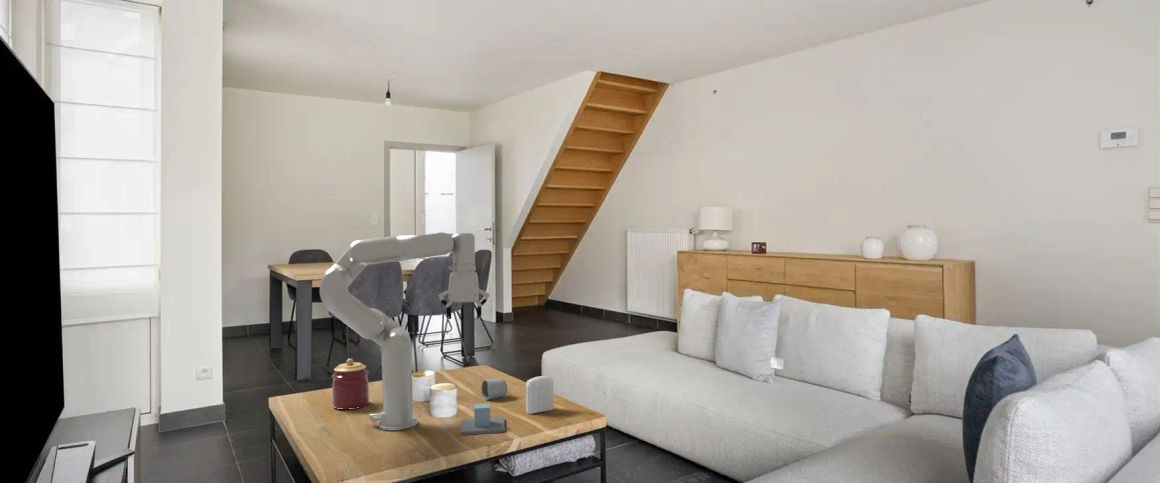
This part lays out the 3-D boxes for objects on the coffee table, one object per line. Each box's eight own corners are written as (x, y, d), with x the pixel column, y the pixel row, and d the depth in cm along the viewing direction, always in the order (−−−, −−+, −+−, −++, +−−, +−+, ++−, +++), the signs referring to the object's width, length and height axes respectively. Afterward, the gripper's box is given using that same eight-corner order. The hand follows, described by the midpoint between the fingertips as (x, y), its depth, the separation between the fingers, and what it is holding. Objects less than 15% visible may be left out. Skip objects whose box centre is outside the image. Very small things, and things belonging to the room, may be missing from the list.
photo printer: (549, 407, 227) (548, 373, 227) (555, 410, 223) (554, 375, 223) (524, 412, 221) (523, 377, 221) (530, 415, 218) (529, 379, 217)
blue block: (474, 426, 203) (474, 408, 203) (475, 422, 208) (474, 404, 208) (490, 425, 203) (489, 407, 203) (490, 421, 208) (489, 403, 208)
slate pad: (460, 434, 198) (460, 431, 198) (462, 422, 211) (461, 419, 211) (504, 432, 200) (504, 428, 200) (503, 419, 213) (503, 416, 213)
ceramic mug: (508, 398, 240) (508, 378, 240) (489, 402, 235) (488, 381, 235) (496, 393, 249) (496, 373, 248) (477, 396, 244) (477, 376, 244)
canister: (373, 406, 232) (372, 359, 232) (337, 412, 225) (335, 364, 225) (364, 398, 243) (362, 353, 243) (328, 404, 236) (327, 358, 235)
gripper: (437, 269, 210) (437, 320, 210) (488, 269, 212) (489, 319, 212) (439, 268, 218) (439, 317, 218) (489, 267, 220) (489, 316, 220)
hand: (464, 318), depth 215 cm, fingers open, 9 cm apart
